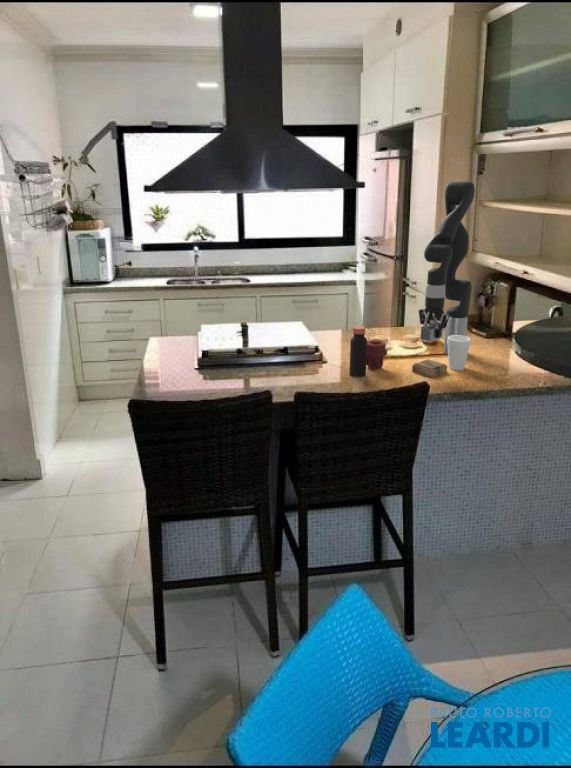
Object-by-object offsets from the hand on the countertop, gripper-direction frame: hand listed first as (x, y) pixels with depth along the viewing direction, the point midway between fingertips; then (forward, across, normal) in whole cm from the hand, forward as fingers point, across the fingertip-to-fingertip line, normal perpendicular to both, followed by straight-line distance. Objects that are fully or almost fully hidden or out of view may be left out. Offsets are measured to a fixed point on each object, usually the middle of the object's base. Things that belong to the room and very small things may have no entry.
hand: (432, 336), depth 245 cm
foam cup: (+16, -4, -13) cm, 21 cm away
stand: (+15, 0, 0) cm, 15 cm away
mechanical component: (+16, +18, +14) cm, 28 cm away
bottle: (+16, +17, +25) cm, 34 cm away
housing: (+1, 0, 0) cm, 1 cm away
